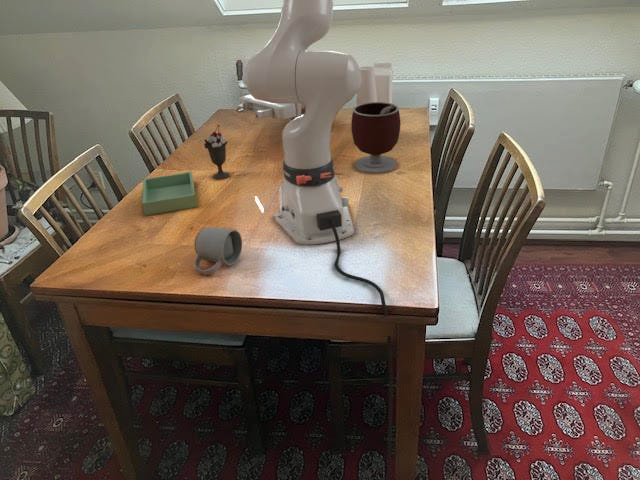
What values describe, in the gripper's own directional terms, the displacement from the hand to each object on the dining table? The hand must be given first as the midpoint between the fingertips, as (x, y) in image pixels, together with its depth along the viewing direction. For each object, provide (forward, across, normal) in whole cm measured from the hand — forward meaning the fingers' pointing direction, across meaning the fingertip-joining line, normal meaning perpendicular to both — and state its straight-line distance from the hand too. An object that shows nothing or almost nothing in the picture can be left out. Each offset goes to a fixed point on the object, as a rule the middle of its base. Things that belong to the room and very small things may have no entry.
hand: (246, 112), depth 155 cm
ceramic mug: (+42, +39, +16) cm, 59 cm away
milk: (-49, +11, +16) cm, 53 cm away
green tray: (+30, +1, +16) cm, 34 cm away
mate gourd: (-21, +32, +16) cm, 42 cm away
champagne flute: (-35, +17, +16) cm, 42 cm away
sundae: (+12, 0, +16) cm, 20 cm away
